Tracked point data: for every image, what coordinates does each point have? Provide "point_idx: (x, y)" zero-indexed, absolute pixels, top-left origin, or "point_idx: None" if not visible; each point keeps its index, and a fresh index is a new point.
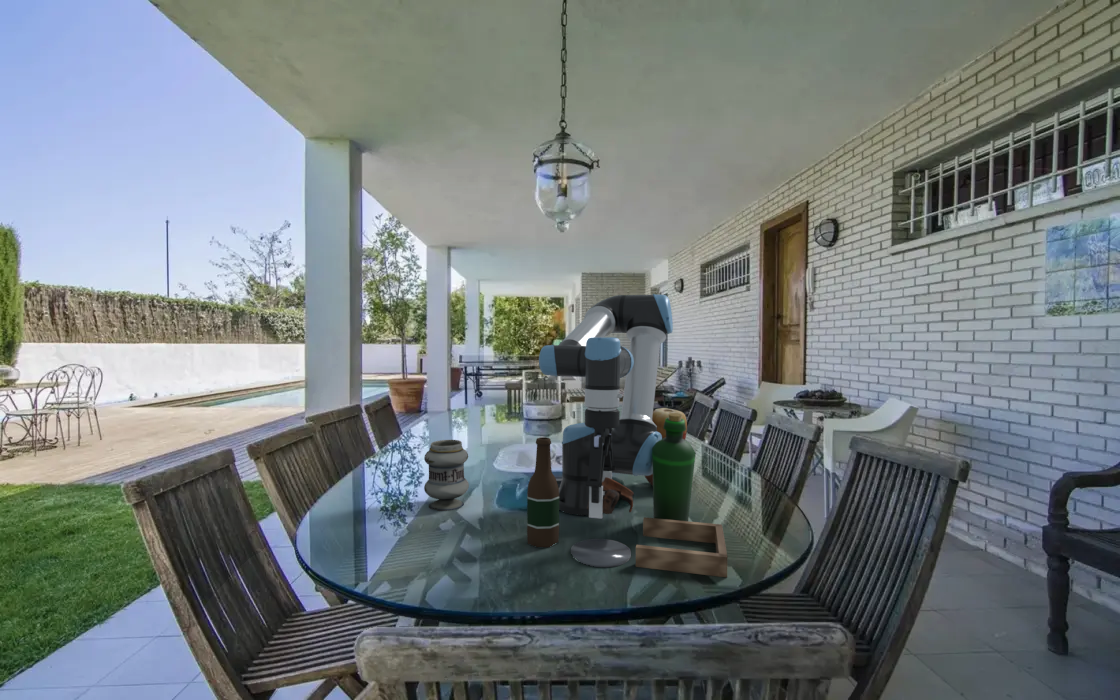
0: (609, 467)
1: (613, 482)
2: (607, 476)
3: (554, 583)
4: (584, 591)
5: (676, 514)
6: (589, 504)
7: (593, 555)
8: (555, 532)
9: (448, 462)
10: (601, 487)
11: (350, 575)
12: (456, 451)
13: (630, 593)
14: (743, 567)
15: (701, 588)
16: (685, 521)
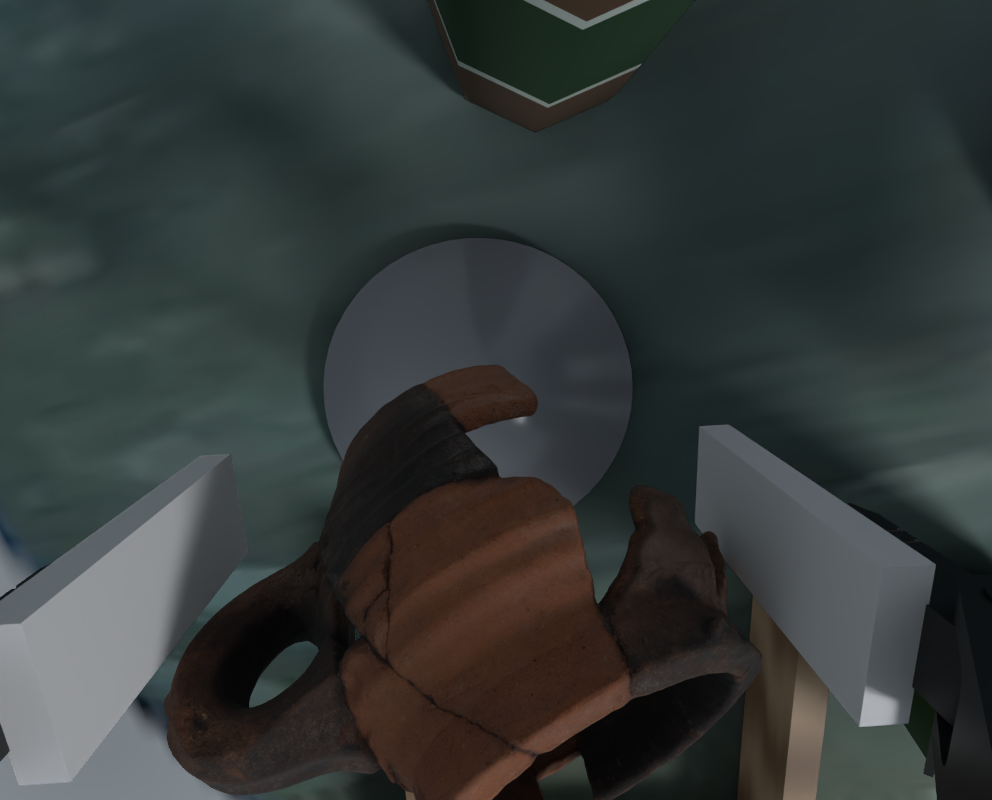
0: (939, 749)
1: (433, 797)
2: (824, 626)
3: (85, 264)
4: (84, 413)
5: (916, 734)
6: (134, 506)
7: (405, 378)
8: (508, 103)
9: None
10: (25, 766)
11: None
12: None
13: None
14: None
15: (311, 786)
16: (813, 779)
